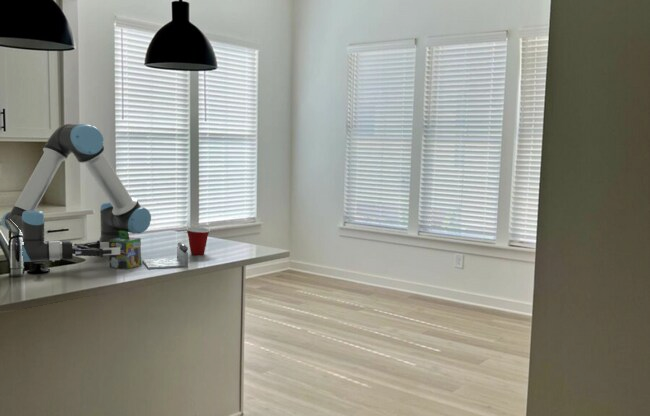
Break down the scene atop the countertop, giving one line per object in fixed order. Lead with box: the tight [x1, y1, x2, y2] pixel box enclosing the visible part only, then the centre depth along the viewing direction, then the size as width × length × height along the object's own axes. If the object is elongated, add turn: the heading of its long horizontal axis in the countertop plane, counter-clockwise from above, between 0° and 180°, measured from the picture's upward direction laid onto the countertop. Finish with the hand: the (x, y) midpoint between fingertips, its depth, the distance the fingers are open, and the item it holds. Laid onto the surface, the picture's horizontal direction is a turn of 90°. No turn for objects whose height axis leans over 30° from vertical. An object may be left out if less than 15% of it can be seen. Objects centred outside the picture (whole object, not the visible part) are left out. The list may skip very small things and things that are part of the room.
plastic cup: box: [185, 226, 211, 256], centre depth 280 cm, size 11×11×12 cm
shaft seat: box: [142, 241, 189, 270], centre depth 256 cm, size 16×16×8 cm
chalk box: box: [108, 231, 142, 270], centre depth 249 cm, size 9×9×15 cm
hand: (118, 247), depth 248 cm, fingers open, 13 cm apart
